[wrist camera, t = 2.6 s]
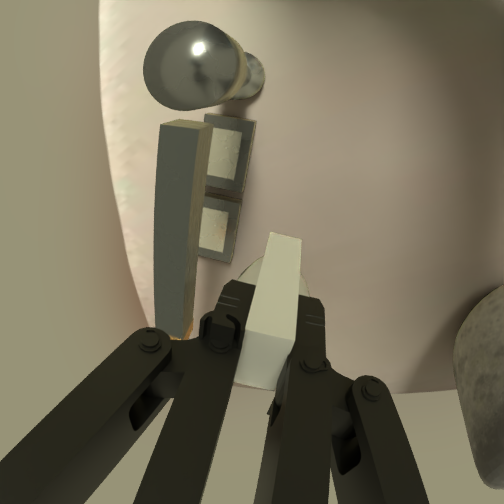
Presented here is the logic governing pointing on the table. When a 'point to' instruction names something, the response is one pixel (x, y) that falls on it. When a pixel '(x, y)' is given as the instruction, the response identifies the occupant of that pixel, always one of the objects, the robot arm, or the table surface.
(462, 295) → the table surface
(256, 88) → the post
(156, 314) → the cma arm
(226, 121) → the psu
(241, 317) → the robot arm
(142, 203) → the table surface
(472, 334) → the vase
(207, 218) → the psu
